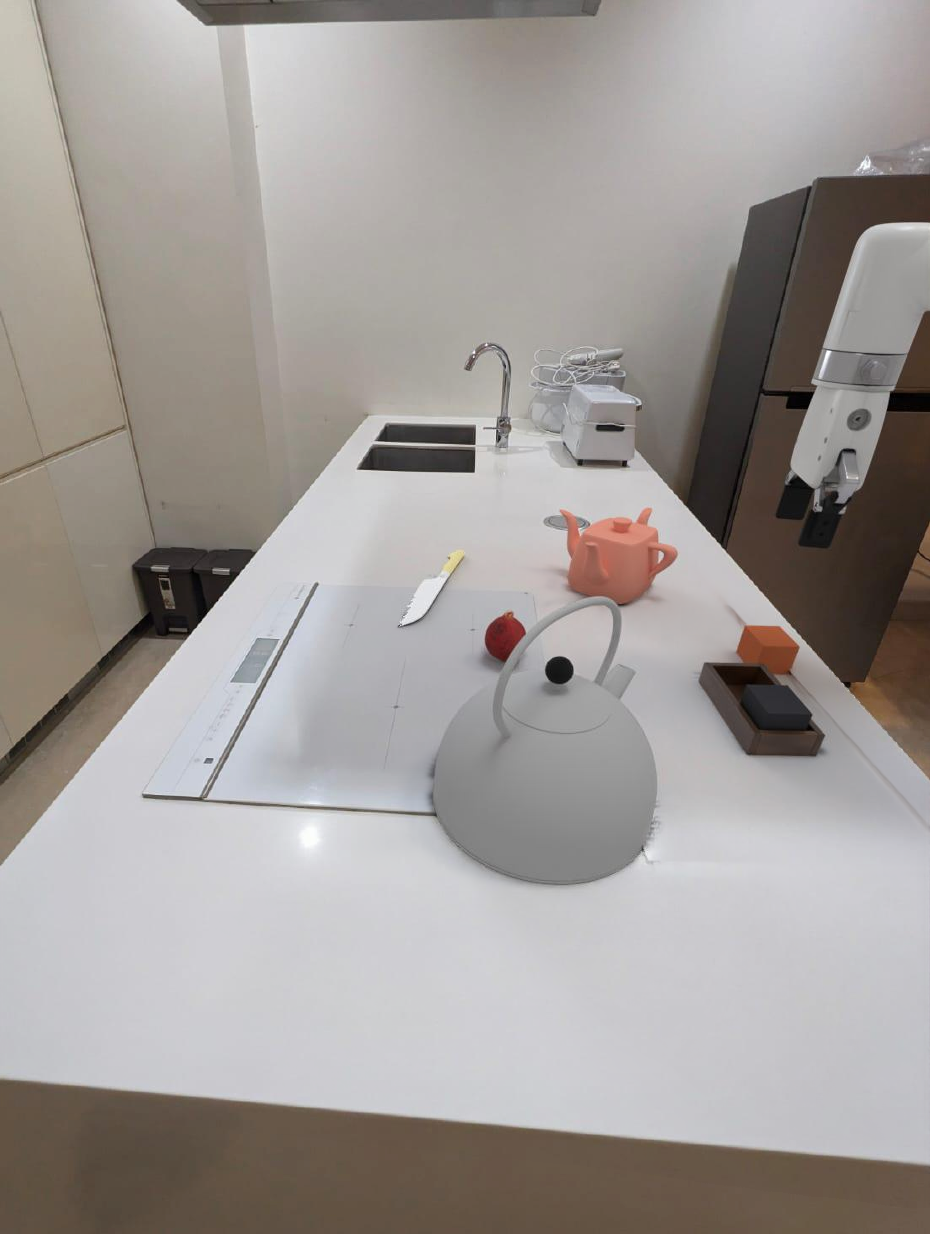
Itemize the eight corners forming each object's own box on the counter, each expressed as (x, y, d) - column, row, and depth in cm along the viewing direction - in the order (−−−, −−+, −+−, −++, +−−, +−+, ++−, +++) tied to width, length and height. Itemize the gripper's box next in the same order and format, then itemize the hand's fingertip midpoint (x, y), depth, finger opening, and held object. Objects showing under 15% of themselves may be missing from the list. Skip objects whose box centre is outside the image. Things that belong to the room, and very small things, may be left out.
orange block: (768, 655, 93) (779, 625, 90) (788, 677, 88) (800, 646, 85) (734, 655, 93) (744, 625, 90) (752, 677, 88) (763, 645, 85)
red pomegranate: (503, 676, 87) (508, 625, 83) (474, 659, 91) (478, 609, 86) (532, 663, 90) (538, 612, 86) (503, 647, 94) (507, 598, 89)
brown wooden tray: (755, 685, 86) (763, 663, 84) (814, 759, 73) (825, 735, 71) (697, 684, 86) (704, 661, 84) (745, 758, 73) (754, 733, 71)
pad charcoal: (774, 718, 79) (787, 685, 76) (798, 749, 74) (813, 714, 71) (734, 717, 79) (746, 684, 76) (755, 748, 73) (768, 713, 71)
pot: (549, 567, 120) (557, 502, 113) (638, 565, 121) (652, 501, 114) (575, 611, 104) (586, 538, 98) (677, 609, 105) (695, 537, 99)
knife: (389, 623, 98) (418, 622, 97) (442, 549, 125) (466, 547, 123) (391, 630, 99) (420, 630, 97) (443, 555, 126) (467, 554, 124)
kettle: (539, 702, 82) (563, 535, 70) (704, 795, 67) (769, 605, 55) (389, 788, 68) (386, 597, 55) (557, 929, 53) (601, 713, 41)
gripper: (936, 384, 57) (862, 562, 66) (865, 363, 71) (812, 511, 80) (846, 380, 58) (785, 555, 67) (793, 359, 72) (749, 506, 82)
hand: (799, 531), depth 74 cm, fingers open, 9 cm apart
